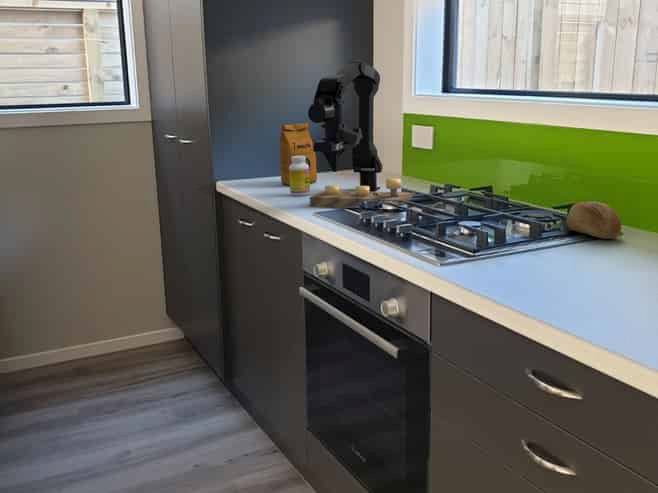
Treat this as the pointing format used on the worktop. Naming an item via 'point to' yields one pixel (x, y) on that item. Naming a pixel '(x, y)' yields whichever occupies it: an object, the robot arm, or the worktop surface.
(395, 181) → the button
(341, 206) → the mount board
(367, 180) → the robot arm
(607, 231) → the bread roll
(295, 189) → the supplement bottle
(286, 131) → the coffee package
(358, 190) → the button centre
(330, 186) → the button
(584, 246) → the worktop surface
